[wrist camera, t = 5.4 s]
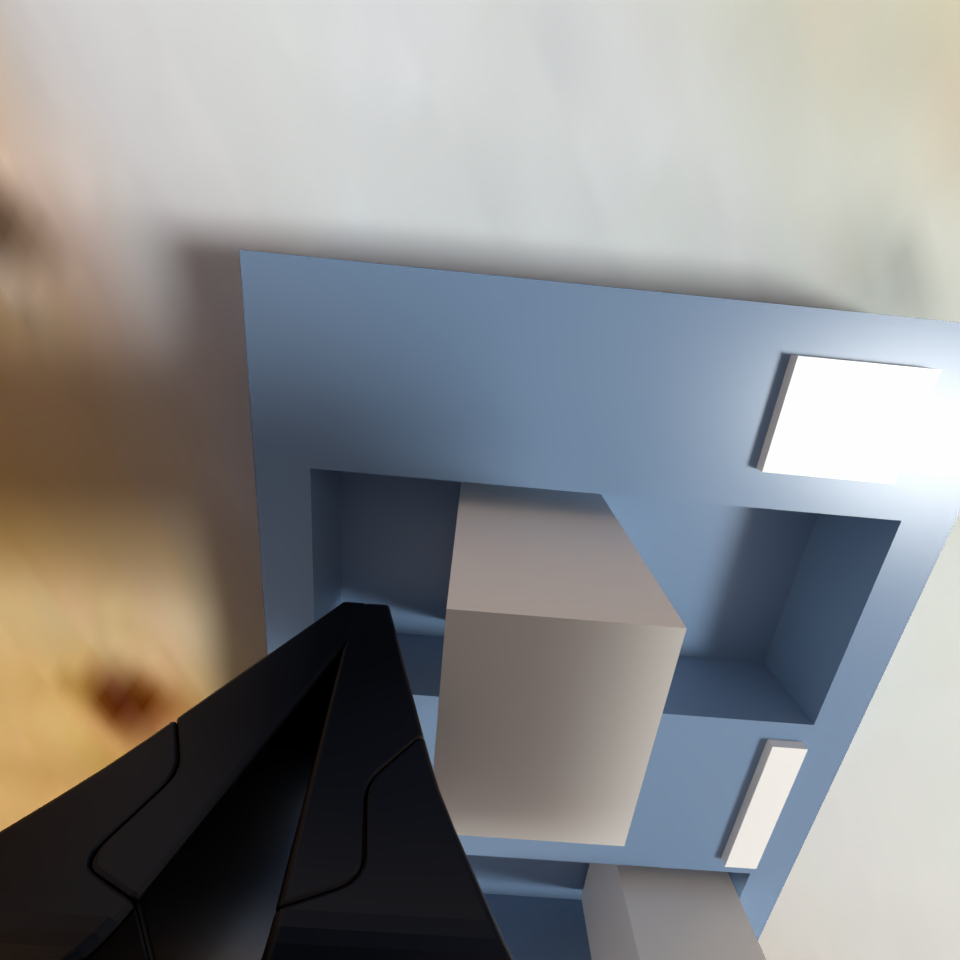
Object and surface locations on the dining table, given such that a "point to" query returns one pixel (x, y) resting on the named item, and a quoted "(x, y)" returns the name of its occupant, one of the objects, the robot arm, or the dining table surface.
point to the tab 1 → (549, 668)
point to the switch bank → (618, 518)
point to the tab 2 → (665, 915)
